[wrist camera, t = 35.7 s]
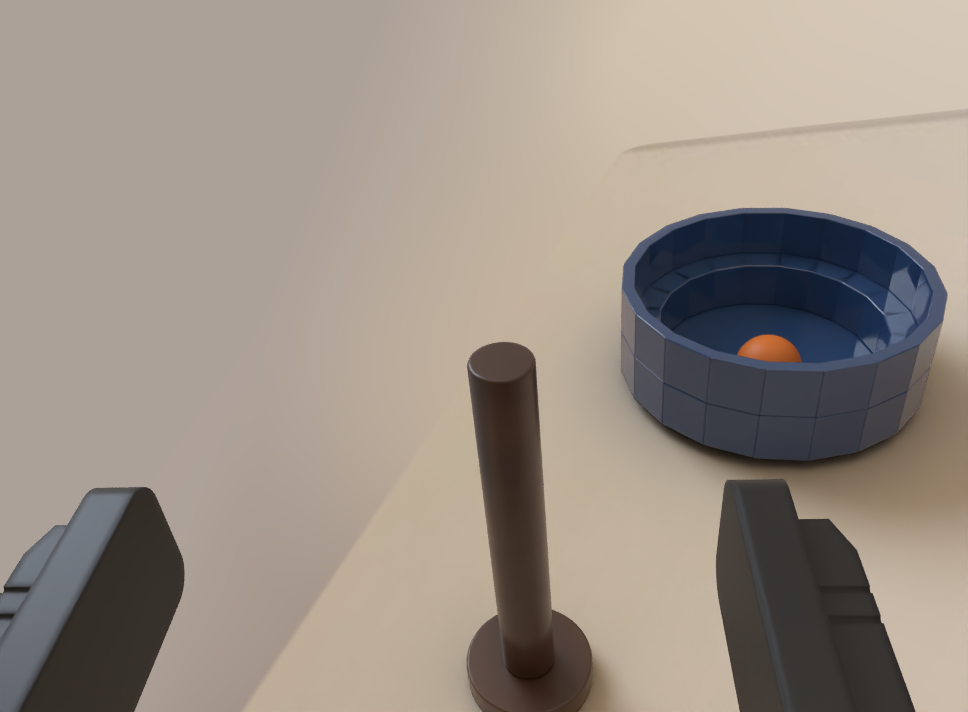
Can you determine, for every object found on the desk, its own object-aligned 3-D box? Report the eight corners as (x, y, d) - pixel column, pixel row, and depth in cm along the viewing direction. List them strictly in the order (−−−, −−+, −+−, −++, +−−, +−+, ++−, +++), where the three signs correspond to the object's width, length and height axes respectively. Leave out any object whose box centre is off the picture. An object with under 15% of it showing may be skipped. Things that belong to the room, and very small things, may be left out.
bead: (740, 322, 40) (735, 343, 43) (734, 384, 39) (729, 402, 42) (808, 328, 39) (798, 349, 42) (804, 392, 38) (794, 409, 41)
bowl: (746, 515, 36) (759, 414, 33) (569, 347, 47) (566, 258, 43) (988, 398, 40) (1021, 299, 37) (777, 269, 51) (788, 183, 48)
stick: (506, 755, 29) (463, 438, 20) (448, 656, 32) (391, 347, 24) (617, 693, 30) (619, 374, 22) (550, 604, 33) (531, 296, 25)
